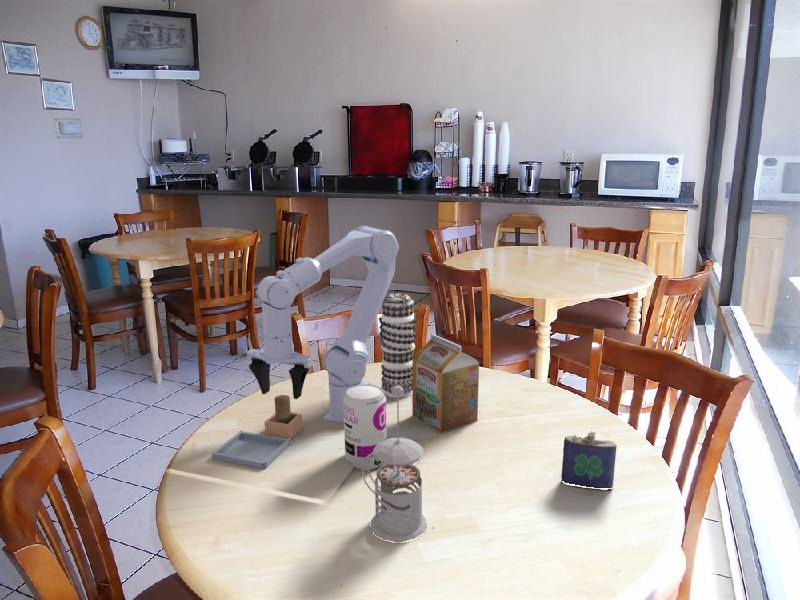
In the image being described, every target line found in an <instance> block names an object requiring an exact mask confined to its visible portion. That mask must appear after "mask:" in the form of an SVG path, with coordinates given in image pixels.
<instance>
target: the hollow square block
mask: <svg viewBox="0 0 800 600" xmlns="http://www.w3.org/2000/svg"><path fill="white" fill-rule="evenodd" d="M302 414H303V413H300V412H299V413H297V412H292V411H291V421H290V422H289V423H288V424H284V423H278V422H276V415H275V412H274V413H273V414H272V415H271V416H270V417H269V418H267V419H266V420H265V421H264V435H267V436H273V437H278V438H284V439H290V441H291V440H292V439H293V438H294V437H295V436H296V435H297V434H299V432H300V431H302V430H303V415H302Z"/></svg>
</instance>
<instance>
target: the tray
mask: <svg viewBox="0 0 800 600" xmlns="http://www.w3.org/2000/svg"><path fill="white" fill-rule="evenodd" d="M290 446H291V440H290V439H284V438H278V437H273V436H267V435H265V434H260V433H254V432H249V431H243V430H239V431H238V432H237V433H235V435H233V436H232V437H230V438H229V440H227V441H226V442H225V443H223V444H222V445H221V446H220V447H219V448H217V449H216V450H214V451H213V452H212V453H211V456H212V460H214V461H215V460H216V461H221V462H225V463H231V464H236V465H241V466H244V467H245V466H246V467H250V468H251V467H252V468H257V469H261V470H266V469H267V468H268V467H269V466H270V465H271V464H273V462H275V460H277V459H278V458H279V457H280V456H281V455H282V454H283V453H284V452H285V451H286V450H287V449H288V448H289V447H290Z"/></svg>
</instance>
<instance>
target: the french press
mask: <svg viewBox="0 0 800 600" xmlns="http://www.w3.org/2000/svg"><path fill="white" fill-rule="evenodd" d="M392 394H393V395H397V398H396V403H397V404H396V405H397V407H396V408H397V409H396V413H397V414H396V415H397V418H396V419H397V421H396V423H397V424H396V425H397V437H390V438H387V440H385V441H383V442H381V443H379V444H377V445H376V447H375V448H374V451H373V452H372V453H371V454H370V455H368V456H367V457H365V459H364V461H363V463H362V470H361V474H362V477H363V481H364V484H365V485H366V486H367V488H368V489H369V491H371V492H372V493H373V494H374V498H375V499H374V500H375V502H374V503H375V507H374V508H375V514H374V515H375V516H374V515H373V516H372V517H371V520H370V521H371V522H370V521H369V530H370V529H371V530H372V531H373V532H374V534H375V535H376V536H378V537H380V538H382V539H383V540H389V541H393V542H403V541H407V540H410V539H414V538H416V537H418V536H419V535H421V534H422V533H424V532H425V529H426V528H427V523H428V522H427V523H426V519H427V518H426V517H425V516H424V514H423V483H422V482H423V480H422V477H421V471H420V469H419V468H418V467H417V466H416V465H413V464H414V463H416V462H417V461H418V462H419V461H420V459H421V458H422V456H423V454H424V448H423V447H422V446H421V445H420V444H419V443H418V442H415V441H414V440H412V439H410V438H409V439H408V438H405V437H400V432H399V431H400V423H399V422H400V421H399V419H400V417H399V415H400V413H399V412H400V411H399V401H400V400H399V399H400V398H399V397H398V395H402V394H403V388H402V387H401V386H394V387H393V388H392ZM372 455H374V456H375V460H376V461H381V462H383V464H384V465H383V464H382V465H381V466H379V467H378V468H377V471H376V477H375V480H374V479H373V476H372V473H371V471H370V469H369V460H370V457H371V456H372ZM368 457H369V458H368ZM367 458H368V470H367V472H368V474H369V477H370V480H371V481H372V483H373V484H374V490H373V489H372V488H371V486H370V485H369V484H368V483H367V481H366V479H365V478H366V477H365V474H364V471H365V470H363V465H364V462H365V460H366V459H367ZM377 459H378V460H377ZM379 482H380V485H379ZM415 483H416V484H417V485H416V484H415ZM411 485H412V486H411ZM413 487H414V488H413ZM400 489H406V490H401V491H397V492H394V491H396V490H400ZM407 490H409V491H411V492H409V491H407ZM379 497H380V498H379ZM379 504H380V505H379ZM379 510H380V511H379ZM422 514H423V515H422ZM425 518H426V519H425ZM370 523H371V524H370ZM370 525H371V526H370ZM427 529H428V528H427ZM371 530H370V531H371ZM372 531H371V532H372ZM425 533H426V532H425ZM374 534H373V535H374ZM376 536H375V537H376Z"/></svg>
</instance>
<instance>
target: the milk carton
mask: <svg viewBox="0 0 800 600" xmlns="http://www.w3.org/2000/svg"><path fill="white" fill-rule="evenodd" d="M479 375H480V362H479V361H478V360H477V359H476V358H474V357H473V356H471V355H468V354H466V353H464V352H462V346H461V345H459V344H457V343H456V342H455V343H454V342H453V341H450V340H448V339H445V338H443V337H441V336H438V335H436V334H434V333H431V334H430V340H428V341H427V342H426V343H425V344H424V345H423V346H421V348H420V349H418V351H417V352H416V353H415V354H414V355H413V359H412V395H411V397H412V400H411V401H412V402H411V403H412V410H411V411H412V417H414V418H416V419H417V420H418V421H419V422H422V423H423V424H425V425H426V426H428V427H429V428H431V429H432V430H434V431H436V432H437V433H439V434H443V433H447V432H450V431H452V430H455V429H458V428H461V427H464V426H468V425H470V424H472V423H476V422H478V419H479V418H478V414H479V413H478V409H479V381H480V380H479V379H480V377H479Z"/></svg>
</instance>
